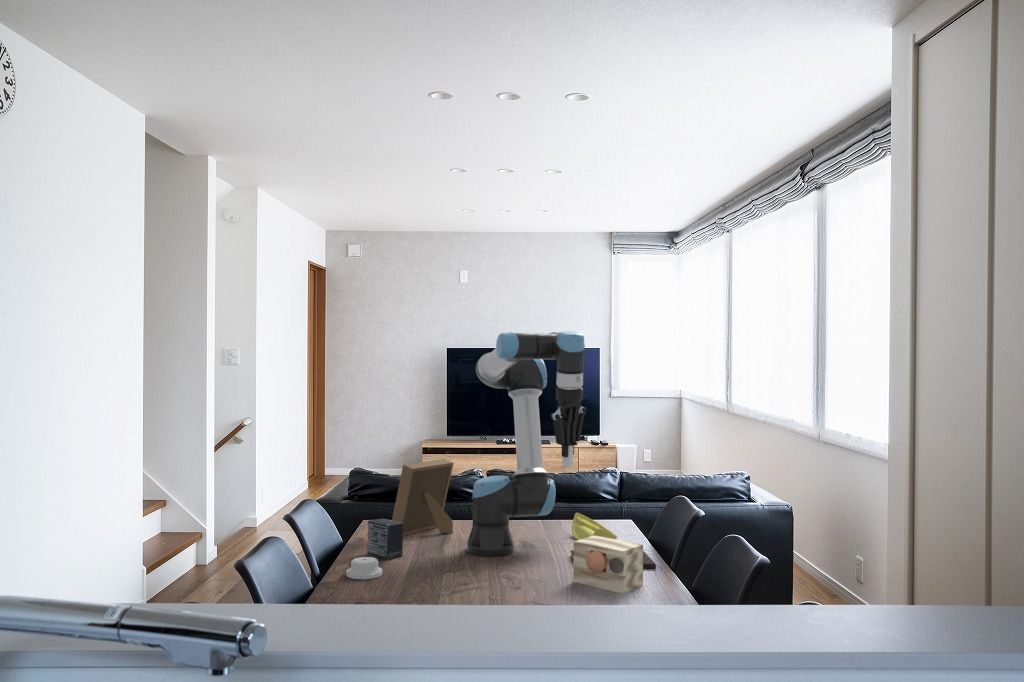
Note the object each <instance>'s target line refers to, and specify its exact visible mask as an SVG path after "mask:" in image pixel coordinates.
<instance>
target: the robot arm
mask: <svg viewBox="0 0 1024 682" xmlns="http://www.w3.org/2000/svg"><path fill="white" fill-rule="evenodd" d="M585 347H586V344H585V335H584V334H583V332H580V331H571V330H570V331H569V330H566V331H560V332H556V331H555V332H554V331H552V332H549V333H527V332H511V331H510V332H501V333H499V335H498V336H497V339H496V343H495V348H494V349H493V350H492V351H491V352H487V353H484V354H483V355H482V356H481V357H480V358H479V359H478V360H477V362H476V366H475V372H476V373H475V374H476V376H477V377H478V380H480V382H482V383H483V384H484V385H486V386H488V387H491V388H494V389H504V390H507V393H508V396H509V397H510V398H511V399H512V402H513V403H512V404H513V405H512V406H513V419H514V421H513V422H514V436H515V451H516V452H515V453H516V457H515V458H516V471H515V472H514V474H513V475H512V480H511V479H510V477H509V475H491V476H486V477H481V478H478V479H477V480H475V482H474V484H473V489H472V527H471V529H470V533H469V537H468V539H467V542H466V551H467V553H469V554H472V555H474V556H481V557H500V556H499V555H502V556H506V555H510V554H513V553H514V552H513V551H515V543H514V539H513V537H512V532H511V529H510V525H509V524H510V518H517V517H518V518H519V517H539V516H540V517H541V516H548V515H549V514H550V513H551V512H552V511H553V509H554V506H555V501H556V485H555V481H554V480H553V479H552V478H549V472H548V471H547V470H546V469H545V468H544V460H543V449H542V447H543V446H542V434H541V420H540V407H539V406H540V405H539V397H540V396H541V395H542V394H543V389H545V388H546V387H547V384H548V380H547V379H548V372H547V367H546V364H545V362H544V360H548V361H549V360H552V361H553V360H554V361H556V377H555V379H556V380H555V381H556V383H555V385H556V388H555V389H556V391H555V398H556V400H557V406H556V411H555V412H554V413H553V412H552V413H550V418H551V420H552V423H553V429H554V437H555V443H556V444H557V445H560V446H561V456H562V458H561V459H562V461H561V463H562V464H561V465H562V467H563V468H567V469H572V468H573V466H574V455H575V446H578V442H580V440H581V435H582V431H583V425H584V420H585V416H586V413H587V411H588V409H587V408H586V407H584V406H582V403H581V402H582V401H583V399H584V398H583V397H584V394H583V392H584V389H583V386H584V367H585V366H584V363H585Z"/></svg>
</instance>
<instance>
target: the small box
mask: <svg viewBox="0 0 1024 682" xmlns="http://www.w3.org/2000/svg"><path fill="white" fill-rule="evenodd" d="M403 540H404V536H403V523H401V522H396V521H392V519H387V518H383V517H382V518H377V519H370V520H368V521H367V552H366V553H367V555H371V556H373V557H375V558H380V559H384V560H392V559H396V558H400V557H401V558H402V557H403V551H404V549H403V548H404V546H403V544H404V541H403Z"/></svg>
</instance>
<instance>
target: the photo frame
mask: <svg viewBox="0 0 1024 682" xmlns="http://www.w3.org/2000/svg"><path fill="white" fill-rule="evenodd" d="M453 467H454V462H453V461H451V460H449V459H447V458H441V459H440V458H439V459H433V460H428V461H425V460H424V461H418V462H414V463H413V462H410V463H406V464H405V463H404V464H402V469H401V474H400V478H399V485H398V489H397V493H396V499H395V502H394V503H395V504H394V506H393V507H394V508H393V512H392V519H391V520H392V521H396V522H401V523H403V537H405V536H409V535H412V534H415V533H421V532H424V530H425V531H428V530H427V529H429V530H431V528H433V529H435V527H437V528H438V531H439V533H446V534H451V533H450V532H453V533H454V531H453V528H454V527H453V519H452V518H451V517H450V516H449V515H448V514H447V512H446V511H445V506H446V501H447V495H448V492H449V488H450V487H449V486H450V482H451V478H452V477H451V476H452V472H453Z"/></svg>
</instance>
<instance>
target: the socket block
mask: <svg viewBox="0 0 1024 682" xmlns="http://www.w3.org/2000/svg"><path fill="white" fill-rule="evenodd" d="M573 550H574V560H573V580H572V581H573V583H577V584H582V585H586V586H589V587H593V588H597V589H603V590H606V591H611V592H615V593H619V594H623V595H625V594H627V593H628V592H631V591H633V590H635V589H637V588H641V587H643V586H644V570H643V551H644V544H643V543H637V542H630V541H626V540H620V539H617V538H616V539H611V538H605V537H600V536H594V535H593V536H590V537H587V538H584V539H580V540H577V539H576V540H574V541H573ZM593 551H600V552H601V553H606V563H607V564H606V568H605V570H604V571H602V572H599V573H593V572H591V571H590V570H589V569H588V567H587V565H586V557H587V555H588V554H589V553H590V552H593Z"/></svg>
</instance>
